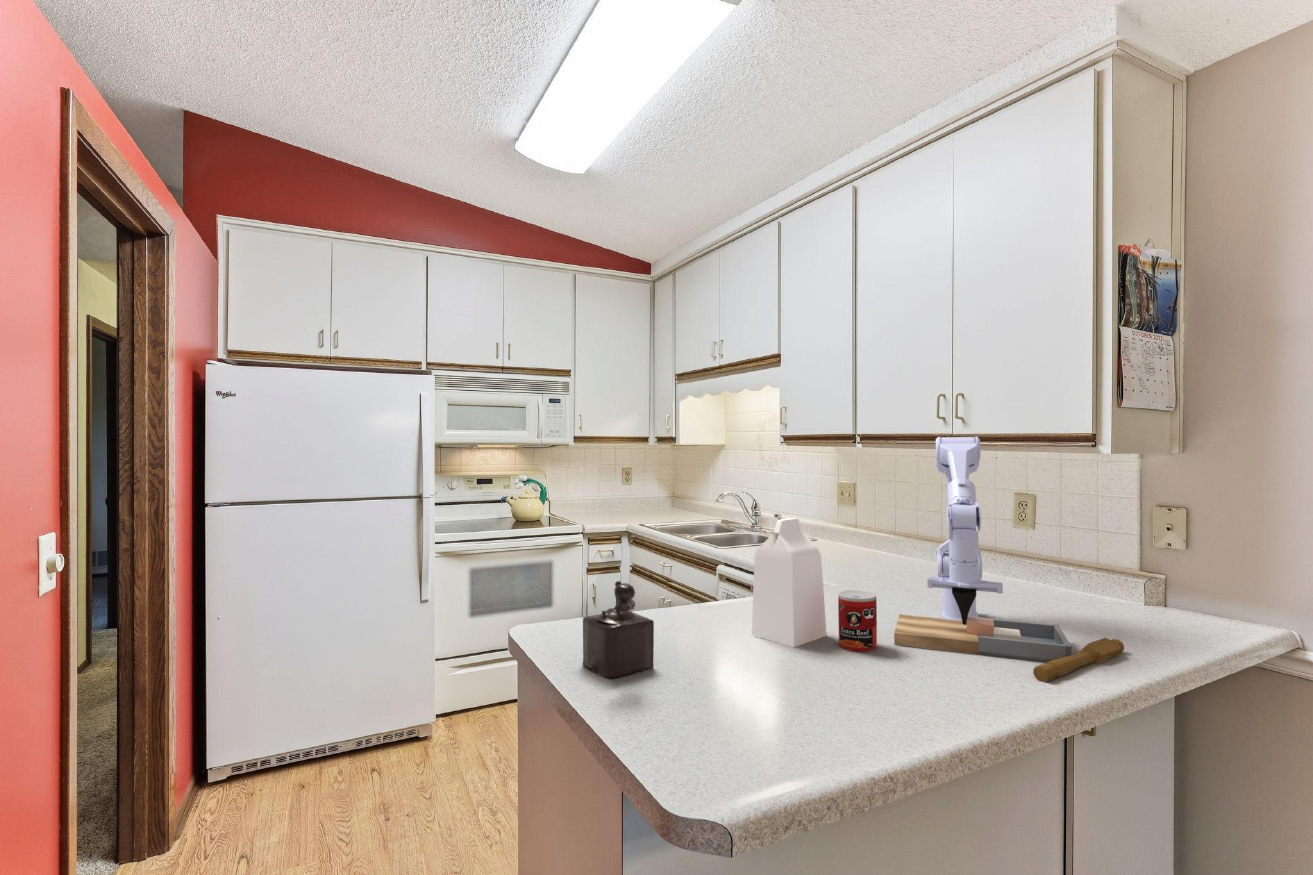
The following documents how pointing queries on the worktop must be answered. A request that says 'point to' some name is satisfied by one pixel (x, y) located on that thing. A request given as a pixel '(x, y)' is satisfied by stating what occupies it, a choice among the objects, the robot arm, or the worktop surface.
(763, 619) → the milk
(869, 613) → the canned food
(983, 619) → the tile
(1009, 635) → the tile
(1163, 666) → the worktop surface
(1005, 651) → the tray
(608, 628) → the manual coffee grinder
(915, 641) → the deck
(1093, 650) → the tap handle
